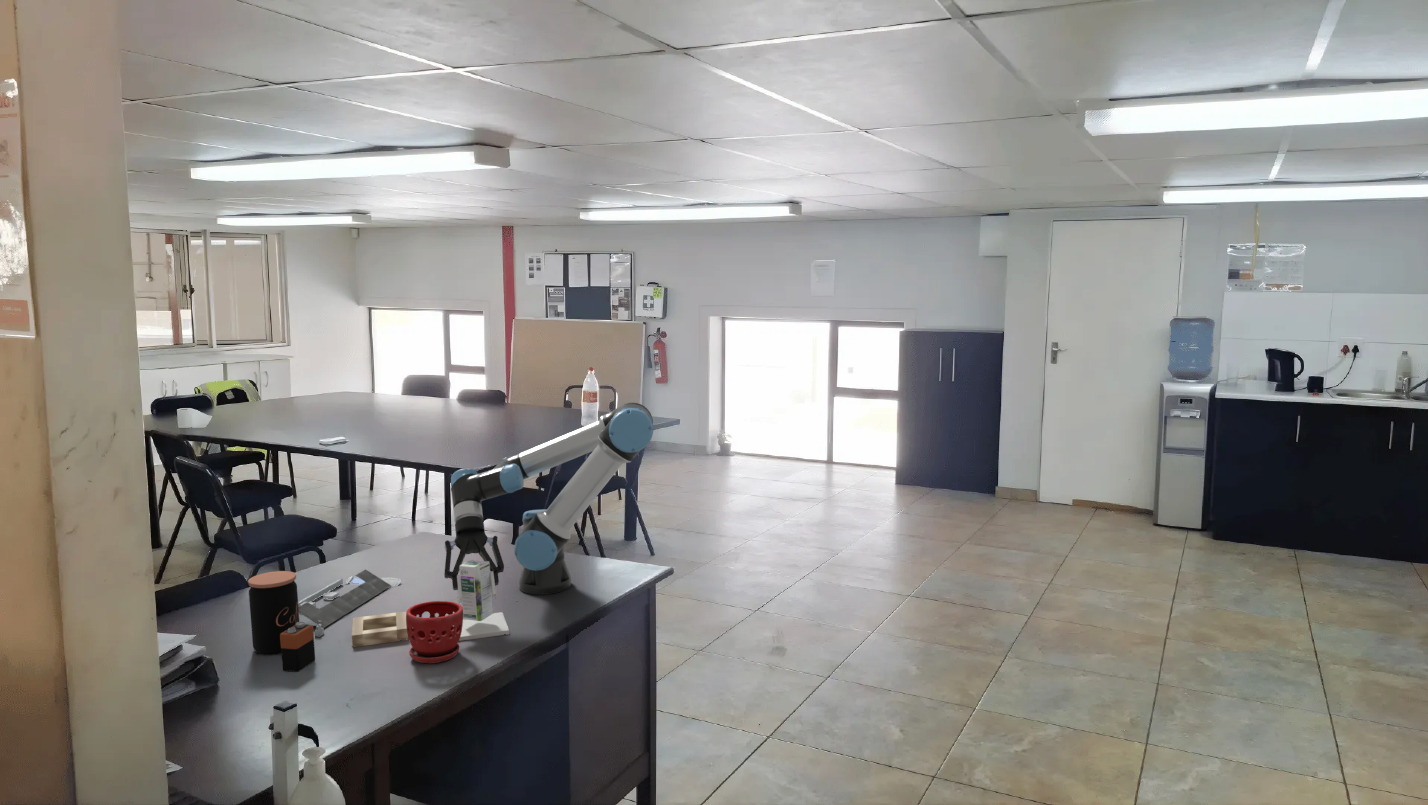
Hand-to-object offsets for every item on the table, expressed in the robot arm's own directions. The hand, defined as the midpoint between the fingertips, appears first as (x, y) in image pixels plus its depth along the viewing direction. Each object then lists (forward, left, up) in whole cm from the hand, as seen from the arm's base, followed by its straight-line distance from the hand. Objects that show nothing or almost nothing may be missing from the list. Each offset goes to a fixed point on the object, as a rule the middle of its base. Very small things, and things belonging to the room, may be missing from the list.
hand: (477, 598), depth 232 cm
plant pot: (+11, +12, -9) cm, 18 cm away
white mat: (0, -3, -9) cm, 10 cm away
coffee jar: (+48, -8, -9) cm, 49 cm away
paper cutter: (+36, -36, -10) cm, 51 cm away
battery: (+42, +6, -9) cm, 43 cm away
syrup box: (0, -3, -6) cm, 7 cm away
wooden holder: (+24, -8, -9) cm, 27 cm away
